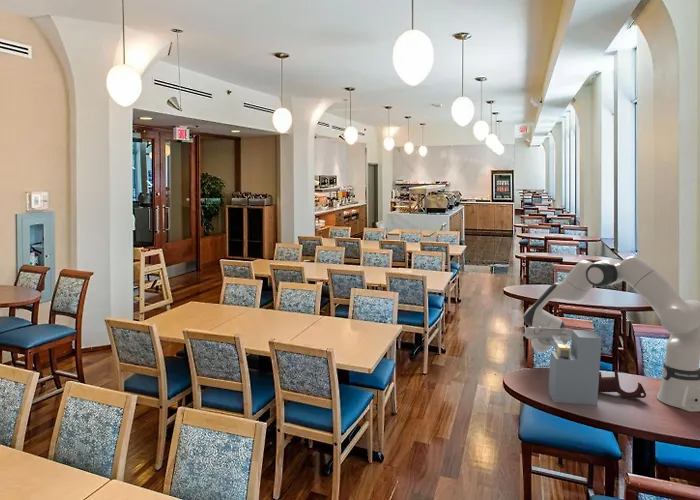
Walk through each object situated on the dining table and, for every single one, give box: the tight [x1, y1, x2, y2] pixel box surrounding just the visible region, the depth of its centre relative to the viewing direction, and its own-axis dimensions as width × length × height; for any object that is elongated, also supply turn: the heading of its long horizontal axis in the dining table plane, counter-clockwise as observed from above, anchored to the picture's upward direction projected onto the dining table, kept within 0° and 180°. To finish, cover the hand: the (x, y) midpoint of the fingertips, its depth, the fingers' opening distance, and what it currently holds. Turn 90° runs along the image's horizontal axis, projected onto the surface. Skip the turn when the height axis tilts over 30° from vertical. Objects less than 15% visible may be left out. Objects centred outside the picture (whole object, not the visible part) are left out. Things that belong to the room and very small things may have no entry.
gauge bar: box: [551, 335, 571, 358], centre depth 205 cm, size 4×20×4 cm, turn 169°
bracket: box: [598, 369, 647, 399], centre depth 202 cm, size 6×18×11 cm, turn 64°
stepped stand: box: [548, 329, 602, 406], centre depth 198 cm, size 16×10×26 cm, turn 80°
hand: (552, 329), depth 219 cm, fingers open, 8 cm apart
